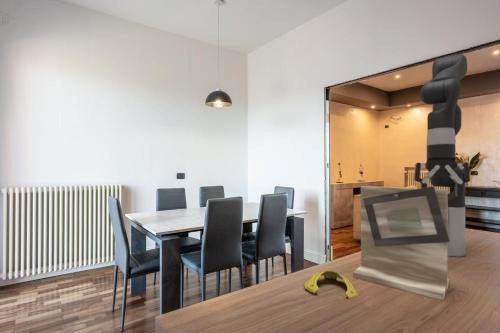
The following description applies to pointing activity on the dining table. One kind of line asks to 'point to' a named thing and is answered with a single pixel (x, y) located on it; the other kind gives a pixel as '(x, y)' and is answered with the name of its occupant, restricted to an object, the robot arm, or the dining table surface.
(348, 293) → the yellow horseshoe piece
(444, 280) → the wall board stand
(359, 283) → the dining table surface
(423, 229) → the picture frame
